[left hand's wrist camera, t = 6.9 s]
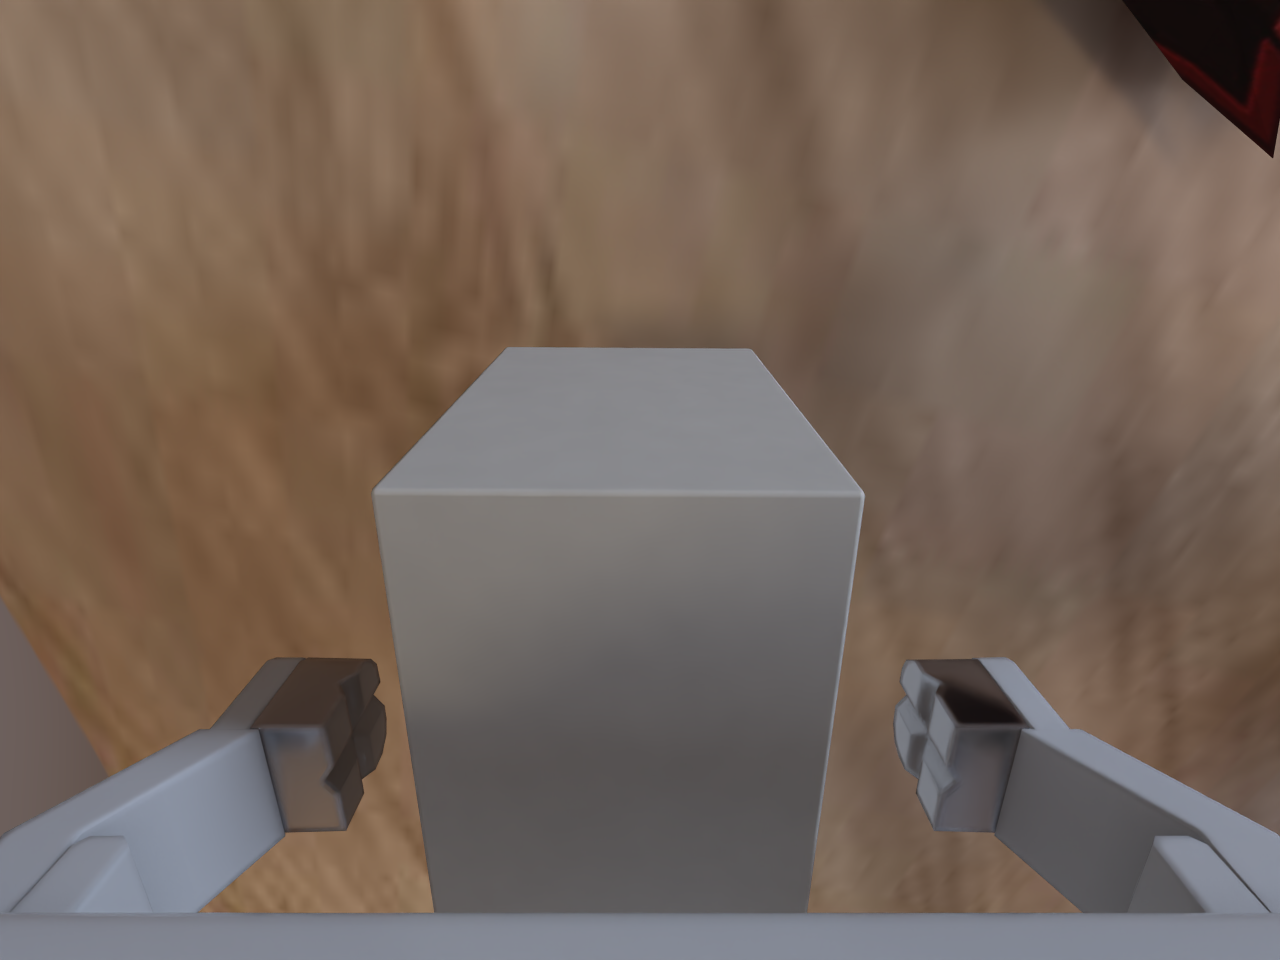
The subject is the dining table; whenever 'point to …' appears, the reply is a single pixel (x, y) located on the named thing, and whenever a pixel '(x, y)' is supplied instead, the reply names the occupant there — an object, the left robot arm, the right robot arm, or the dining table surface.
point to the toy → (1223, 56)
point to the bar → (619, 632)
